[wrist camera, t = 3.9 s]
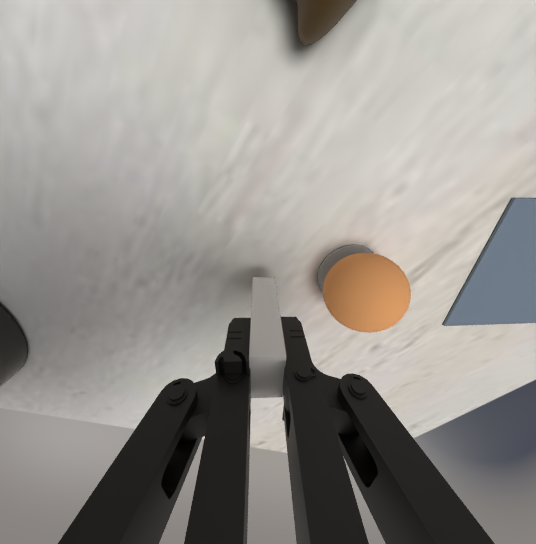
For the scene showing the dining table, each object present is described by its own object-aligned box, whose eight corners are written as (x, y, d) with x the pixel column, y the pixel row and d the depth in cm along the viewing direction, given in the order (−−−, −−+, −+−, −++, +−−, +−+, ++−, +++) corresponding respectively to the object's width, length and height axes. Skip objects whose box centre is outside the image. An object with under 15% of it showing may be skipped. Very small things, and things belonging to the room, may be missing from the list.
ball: (310, 301, 18) (332, 352, 13) (319, 241, 15) (349, 277, 10) (371, 299, 18) (413, 348, 13) (389, 241, 16) (449, 276, 11)
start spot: (314, 298, 18) (314, 300, 18) (321, 244, 15) (322, 245, 15) (369, 297, 18) (370, 298, 18) (385, 244, 16) (386, 245, 16)
